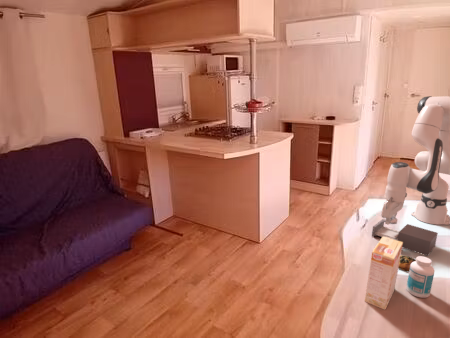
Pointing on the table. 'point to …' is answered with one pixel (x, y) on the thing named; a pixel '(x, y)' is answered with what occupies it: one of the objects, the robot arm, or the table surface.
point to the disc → (392, 220)
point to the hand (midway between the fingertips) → (390, 221)
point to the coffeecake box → (383, 272)
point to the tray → (384, 231)
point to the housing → (417, 239)
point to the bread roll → (405, 262)
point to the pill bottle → (420, 277)
